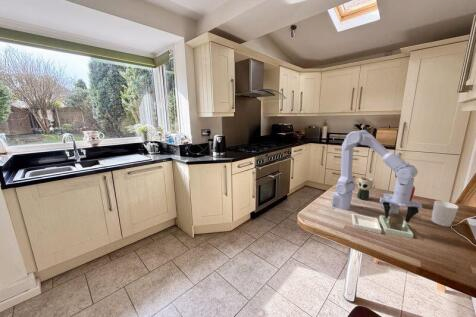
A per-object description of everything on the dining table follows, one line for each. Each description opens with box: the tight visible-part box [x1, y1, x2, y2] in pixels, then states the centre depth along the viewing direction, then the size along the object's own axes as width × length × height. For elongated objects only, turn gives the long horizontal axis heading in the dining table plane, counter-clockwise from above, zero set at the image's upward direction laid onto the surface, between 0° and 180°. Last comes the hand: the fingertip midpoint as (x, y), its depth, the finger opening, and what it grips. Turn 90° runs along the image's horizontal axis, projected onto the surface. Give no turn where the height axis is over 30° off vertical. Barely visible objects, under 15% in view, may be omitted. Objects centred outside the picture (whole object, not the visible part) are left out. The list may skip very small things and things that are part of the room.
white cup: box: [430, 200, 460, 228], centre depth 93 cm, size 8×8×10 cm
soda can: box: [409, 184, 416, 202], centre depth 112 cm, size 6×6×12 cm
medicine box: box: [381, 193, 401, 214], centre depth 104 cm, size 8×4×9 cm, turn 168°
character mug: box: [355, 176, 376, 201], centre depth 119 cm, size 11×7×13 cm, turn 29°
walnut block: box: [388, 213, 405, 231], centre depth 88 cm, size 4×4×6 cm
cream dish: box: [351, 213, 383, 235], centre depth 92 cm, size 11×11×2 cm
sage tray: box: [378, 214, 414, 239], centre depth 89 cm, size 10×13×2 cm
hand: (396, 219), depth 88 cm, fingers open, 7 cm apart
